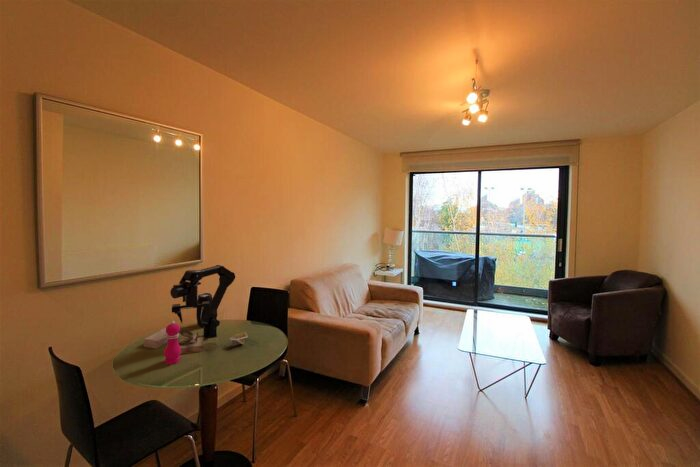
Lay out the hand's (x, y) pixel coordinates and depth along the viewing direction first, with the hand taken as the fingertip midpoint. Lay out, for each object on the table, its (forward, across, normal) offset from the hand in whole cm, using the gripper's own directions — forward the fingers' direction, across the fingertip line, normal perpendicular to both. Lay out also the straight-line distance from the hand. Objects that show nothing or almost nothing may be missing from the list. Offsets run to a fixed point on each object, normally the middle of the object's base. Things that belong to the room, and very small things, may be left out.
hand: (191, 322), depth 173 cm
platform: (+13, -23, +11) cm, 29 cm away
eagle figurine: (+9, +2, +6) cm, 11 cm away
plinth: (+12, +1, +6) cm, 13 cm away
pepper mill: (+12, +9, +19) cm, 24 cm away
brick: (+12, +15, -8) cm, 21 cm away
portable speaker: (+13, -8, -26) cm, 29 cm away
